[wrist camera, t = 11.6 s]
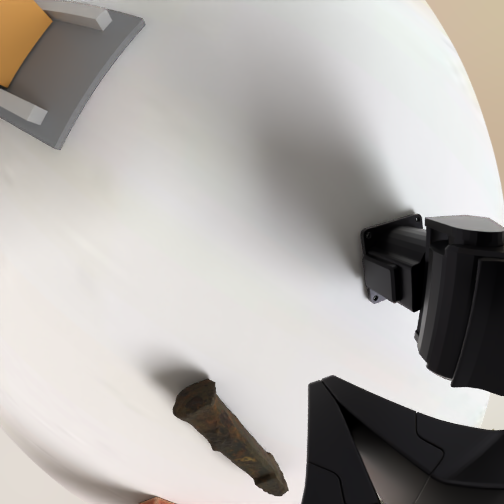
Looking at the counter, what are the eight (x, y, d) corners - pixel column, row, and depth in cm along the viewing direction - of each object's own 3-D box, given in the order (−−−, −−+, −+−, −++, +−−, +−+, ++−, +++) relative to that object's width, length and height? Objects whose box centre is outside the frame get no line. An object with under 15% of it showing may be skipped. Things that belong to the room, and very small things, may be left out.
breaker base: (145, 24, 15) (132, -13, 10) (60, 149, 16) (22, 140, 11) (37, 2, 12) (16, -20, 6) (-28, 100, 13) (-58, 90, 8)
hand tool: (172, 387, 22) (167, 423, 17) (212, 372, 22) (214, 408, 17) (258, 478, 26) (264, 506, 22) (287, 468, 27) (296, 496, 22)
